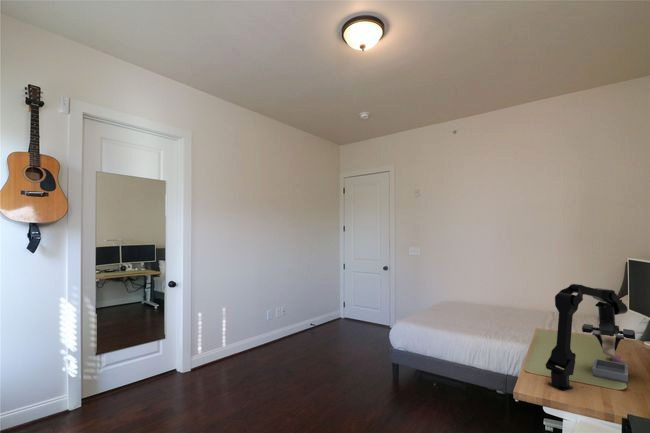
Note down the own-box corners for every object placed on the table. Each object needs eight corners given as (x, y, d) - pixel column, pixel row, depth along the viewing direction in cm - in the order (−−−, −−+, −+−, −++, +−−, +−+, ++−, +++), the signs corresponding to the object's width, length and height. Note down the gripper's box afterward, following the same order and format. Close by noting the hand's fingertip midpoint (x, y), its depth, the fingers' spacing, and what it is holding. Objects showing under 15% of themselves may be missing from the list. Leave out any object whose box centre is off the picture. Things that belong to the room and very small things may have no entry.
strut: (603, 355, 152) (602, 344, 152) (604, 348, 161) (603, 337, 161) (614, 357, 149) (613, 346, 149) (615, 349, 158) (614, 339, 158)
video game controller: (611, 361, 172) (602, 348, 174) (621, 358, 170) (612, 345, 172) (616, 368, 164) (607, 354, 165) (627, 365, 162) (617, 351, 164)
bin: (628, 383, 145) (627, 375, 145) (592, 376, 153) (592, 368, 153) (628, 371, 156) (627, 364, 156) (595, 365, 164) (594, 358, 164)
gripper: (579, 316, 156) (582, 350, 155) (634, 323, 143) (636, 359, 143) (582, 311, 164) (584, 344, 164) (633, 317, 152) (636, 352, 151)
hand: (609, 349), depth 155 cm, fingers closed on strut, 4 cm apart
